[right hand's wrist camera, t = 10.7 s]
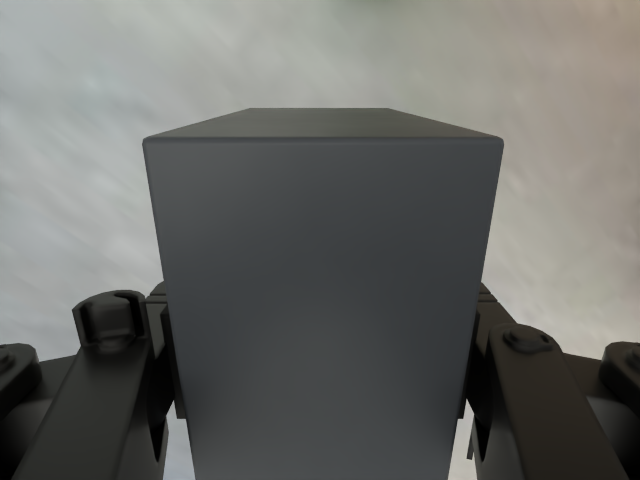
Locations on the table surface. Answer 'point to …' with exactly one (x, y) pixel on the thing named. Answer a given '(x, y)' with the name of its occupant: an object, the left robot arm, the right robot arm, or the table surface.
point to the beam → (322, 287)
